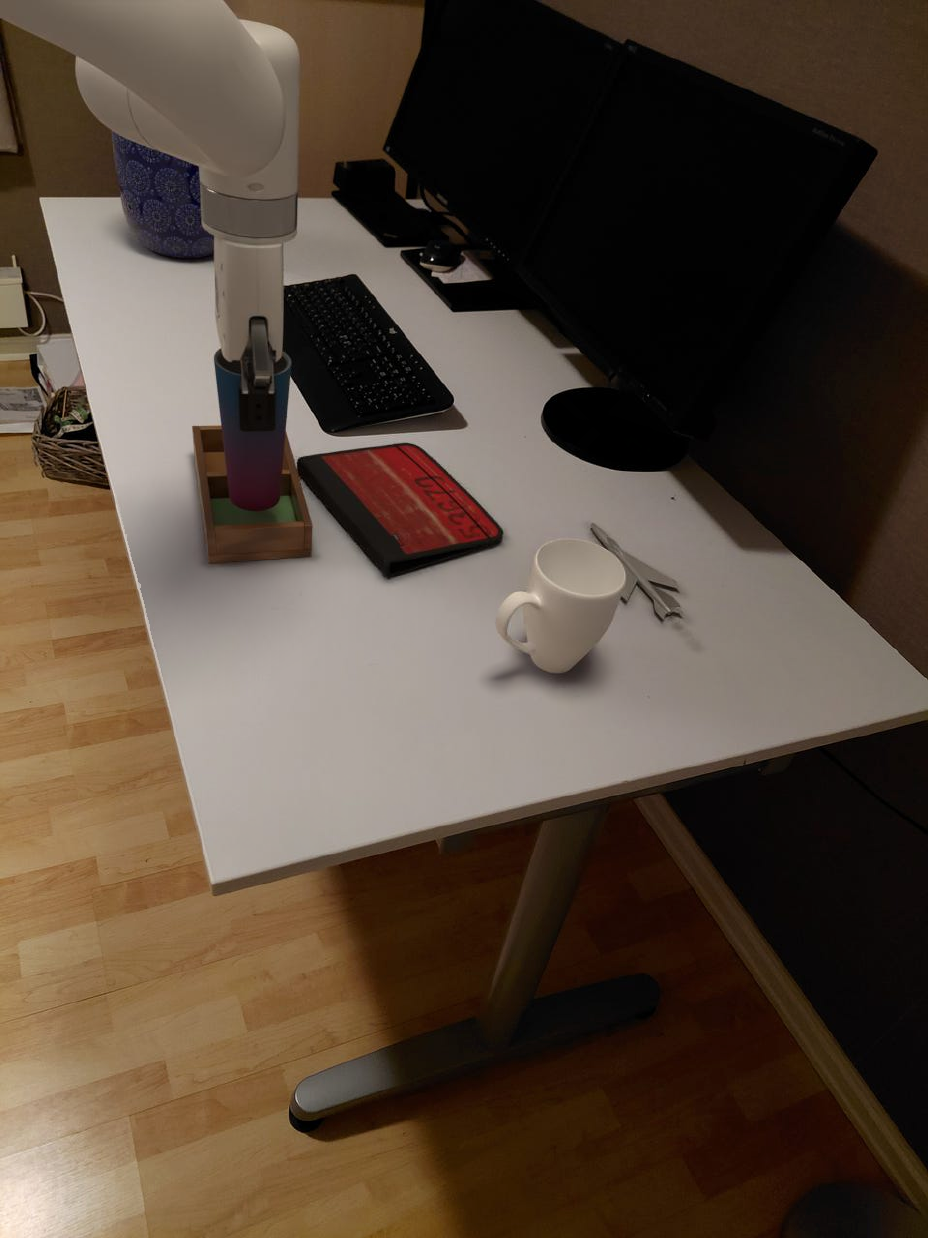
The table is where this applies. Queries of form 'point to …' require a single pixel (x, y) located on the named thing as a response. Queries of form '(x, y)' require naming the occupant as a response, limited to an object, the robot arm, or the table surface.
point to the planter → (161, 200)
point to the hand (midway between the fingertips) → (252, 409)
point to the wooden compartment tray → (244, 530)
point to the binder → (399, 505)
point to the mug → (565, 602)
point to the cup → (252, 437)
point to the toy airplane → (642, 577)
